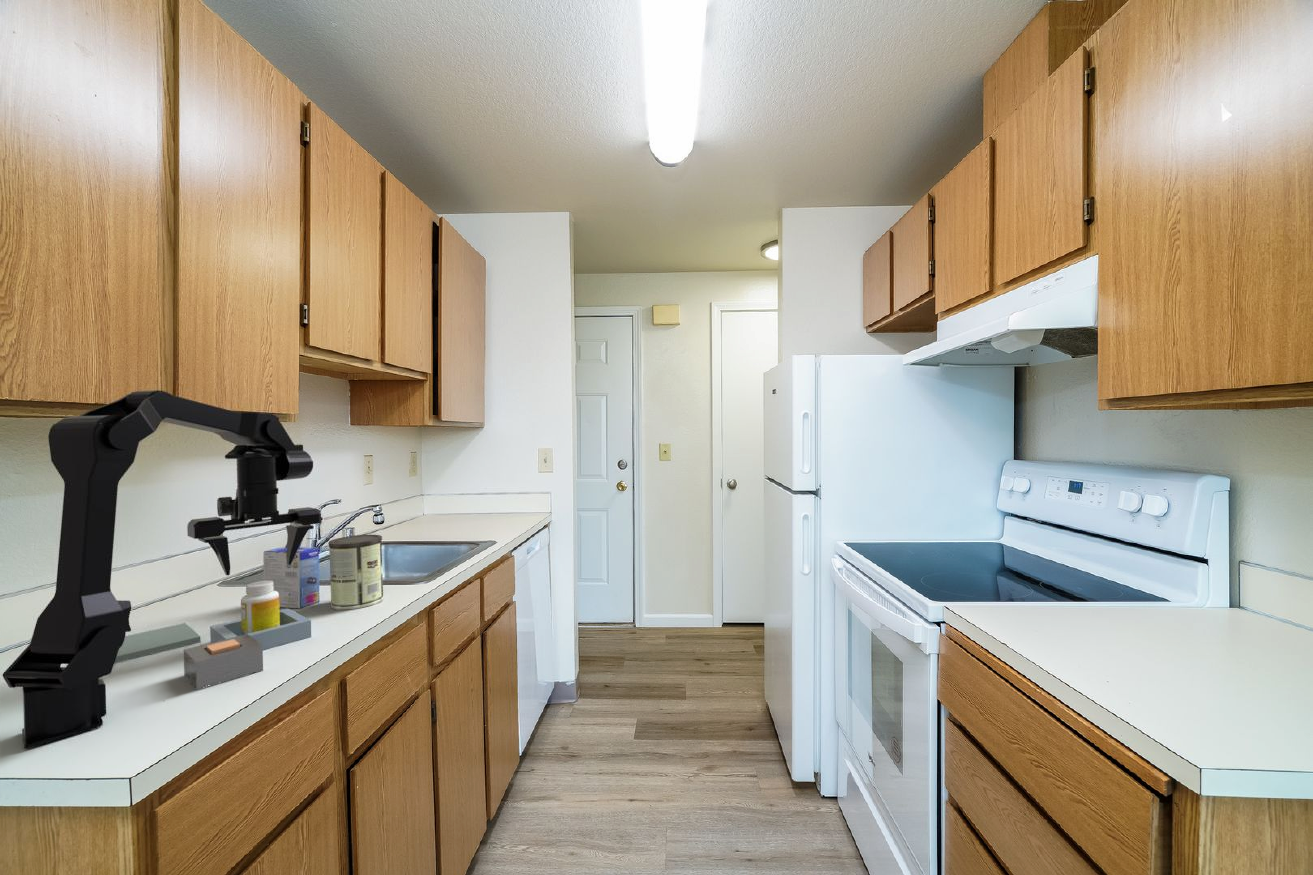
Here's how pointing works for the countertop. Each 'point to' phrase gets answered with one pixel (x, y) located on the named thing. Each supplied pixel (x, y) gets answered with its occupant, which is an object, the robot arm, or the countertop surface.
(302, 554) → the ink cartridge box
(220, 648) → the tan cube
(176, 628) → the mat
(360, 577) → the coffee can
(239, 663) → the block
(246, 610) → the supplement bottle
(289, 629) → the tray
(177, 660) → the countertop surface
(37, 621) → the robot arm
